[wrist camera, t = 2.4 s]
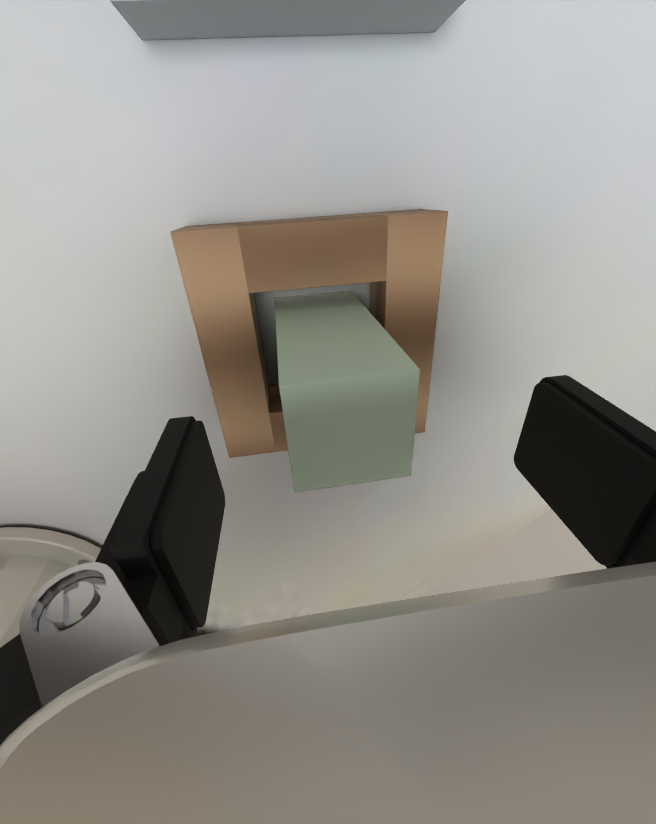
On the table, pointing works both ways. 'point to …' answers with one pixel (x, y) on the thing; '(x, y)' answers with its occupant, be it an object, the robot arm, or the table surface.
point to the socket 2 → (294, 269)
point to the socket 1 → (281, 17)
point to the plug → (343, 392)
